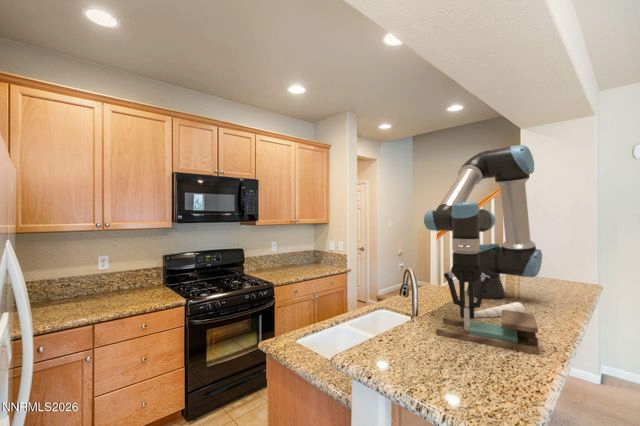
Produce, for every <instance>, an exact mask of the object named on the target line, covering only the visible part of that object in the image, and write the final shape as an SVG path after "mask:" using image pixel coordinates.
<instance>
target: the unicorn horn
mask: <svg viewBox="0 0 640 426" xmlns="http://www.w3.org/2000/svg"><path fill="white" fill-rule="evenodd" d="M502 310H508V311H515V312H523V313H526V309H525V306H524V304H522V303H521V302H520V301H516V302H515V301H514V302H510V303H506V304H503V305H497V306H493V307H489V308H485V309H481V310H476V311H474V319H475V318H479V319H481V318H502ZM459 318H462V319H464V318H463V317H461V316H460V315H459Z"/></svg>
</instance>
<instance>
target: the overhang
mask: <svg viewBox="0 0 640 426" xmlns="http://www.w3.org/2000/svg"><path fill="white" fill-rule="evenodd" d="M442 323H443V324H446V325H451V326H458V327H463V328H464V320H462V319H461V320H460V319H454V318H448V317H443V318H442ZM501 326H502V327H504V328H510V329H516V330H517V336H518V337H522V338H526V342H527V344H524V343H519V342H518V343H513V342H508V341H502V340H497V339H491V338H486V337H480V336H475V335H470V334H469V333H464V332H463V333H462V332H458V331H452V330H447V329H443V328H442V329H441V328H437V329H436V335H437V336H442V337H445V338H450V339H451V338H452V339H458V340H460V341H461V340H462V341H465V342H466V341H467V342H472V343H477V344H482V345H487V346H492V347H498V348H503V349H506V350H514V351H518V352H523V353H528V354H534V355H538V356H539V353H540V352H539V344H538V337H537V336H536V334H538V333H539V327H538V324H537V320H536V317H535V314H534V313H530V312H525V313H523V312H515V311H508V310H502V317H501Z"/></svg>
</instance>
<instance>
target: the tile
mask: <svg viewBox="0 0 640 426" xmlns="http://www.w3.org/2000/svg"><path fill="white" fill-rule="evenodd" d="M468 334H470V335H475V336H480V337H486V338H491V339H497V340H502V341H508V342H513V343H519V341H518V338H519V336H517V330H516V329H510V328H504V327H502V325H496V324H493V323H491V324H490V323H486V322H480V321H471V325H470V328H469V330H468Z"/></svg>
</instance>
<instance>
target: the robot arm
mask: <svg viewBox="0 0 640 426" xmlns="http://www.w3.org/2000/svg"><path fill="white" fill-rule="evenodd" d="M534 172H535V160H534V157H533V155H532V151H531V150H530V148H529V147H528V146H527V145H525V144H521V145H520V144H518V145H511V146H506V147H502V148H501V147H500V148H495V149H490V150H484V151H480V152H478V153H477V154H475V155H474V156H472V157H470V158H469V159H468V160H467V161H465V163H463V165H462V166H461V167H460V168H459V170H458V172H457V177H456V179H455V181H454V182H453V184H452V185H451V186H450V188H449V190H448V191H447V192H446V194H445V196H444V197H443V199H442V200H441V202H439V203H440V204H438V206H437V208H436V209H435V210H433V209H432V210H428V211H426V212H425V214H424V216H423V224H424V227H425V228H426V229H427V230H428V231H436V232H451V233H452V241H451V242H452V251H453V253H452V267H451V269H450V270H449V271H446V272H445V273H443V276H444V278H445V280H446V282H447V284H448V288H449V292H450V295H451V299H452V302H453V305H455V306H458V307H459V312H460V313H459V317H460V316H461V317H463V318H462V319H463V321H464V327H463V329H464V330H465V331H469V328H470V325H471V322H472V321H471V320H474V319H475V318H474V312H475V309H476V308H477V309H478V308H481V306H482V305H481V304H482V302H483V299H486V300H501V299H505V298H506V291H505V289H504V285H503V283H502V281H501V275H507V276H508V275H509V276H516V277H522V278H535V277H537V276H538V275H539V273H540V271H541V267H542V261H543V253H542V249H539V248H536V247H537V245H536V243H535V242H533V241H532V240H531V233H530V223H529V222H530V221H529V210H528V199H527V187H526V183H527V181H528V180H529V179H530V175H532V174H533V173H534ZM491 178H493V179H494V180H495V183H496V184H497V185H498V186H499V187H500V198H501V206H502V209H501V210H502V219H503V227H504V229H503V230H504V236H505V237H504V238H505V241H504V242H503V243H502V244H501V246H500V244H499V243H483V244H482V243H481V244H480V232H482V233H484V232H487V231H490V230H491V229H493V227H494V226H495V225H496V217H495V215H494V214H493V212H491V211H490V210H489V209H484V208H479V203H477V202H473V201H472V202H469V201H468V202H467V200H468V198H469V197H470V195H471V193H472V191H473V190H474V189H475V187H476V185H478V184H479V183H481V181H482V180H484V179H491ZM453 277H455V278H456V279H457V281H458V284H459V297H458V292H457V290H456V286H455V283H454V282H455V281H454V279H453ZM465 283H468V284H467V287H465V285H466V284H465ZM465 288H466V289H465ZM466 294H467V295H468V305H466ZM475 298H477V299H476V301H475Z"/></svg>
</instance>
